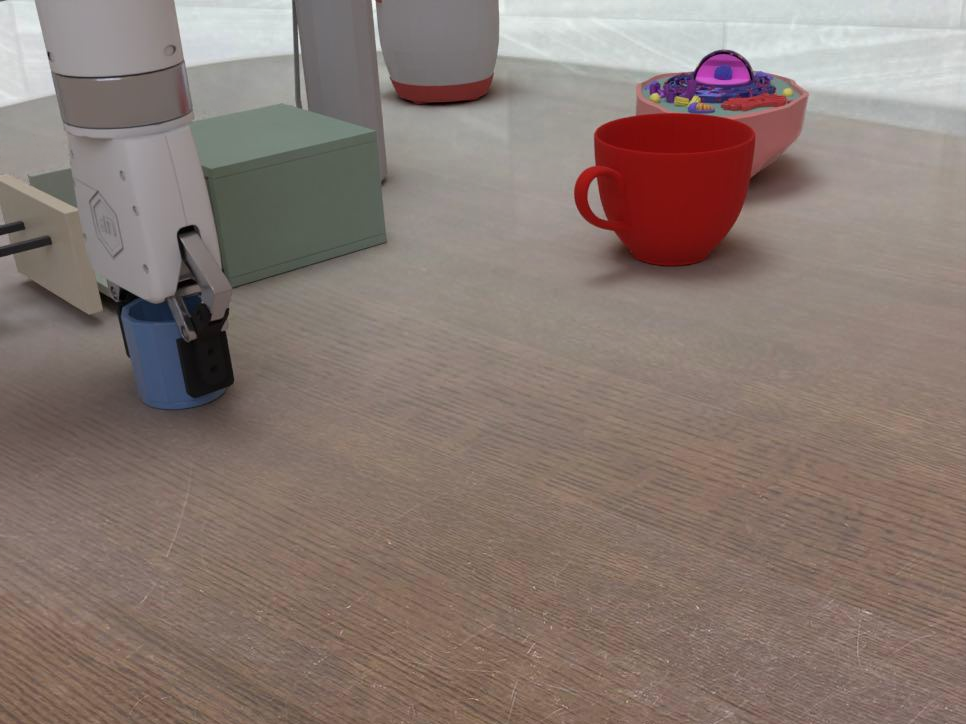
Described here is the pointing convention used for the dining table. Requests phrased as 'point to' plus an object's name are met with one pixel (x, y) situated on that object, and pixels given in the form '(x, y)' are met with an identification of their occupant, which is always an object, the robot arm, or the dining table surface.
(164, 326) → the cup
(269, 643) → the dining table surface
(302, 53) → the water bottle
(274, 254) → the green storage cabinet
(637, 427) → the dining table surface
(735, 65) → the cell model
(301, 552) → the dining table surface
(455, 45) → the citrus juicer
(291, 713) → the dining table surface
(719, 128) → the ceramic cup
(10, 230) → the drawer
